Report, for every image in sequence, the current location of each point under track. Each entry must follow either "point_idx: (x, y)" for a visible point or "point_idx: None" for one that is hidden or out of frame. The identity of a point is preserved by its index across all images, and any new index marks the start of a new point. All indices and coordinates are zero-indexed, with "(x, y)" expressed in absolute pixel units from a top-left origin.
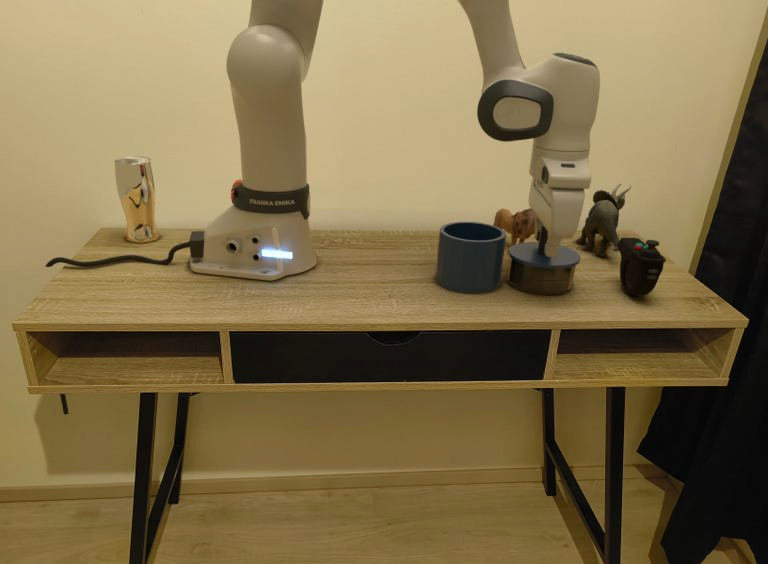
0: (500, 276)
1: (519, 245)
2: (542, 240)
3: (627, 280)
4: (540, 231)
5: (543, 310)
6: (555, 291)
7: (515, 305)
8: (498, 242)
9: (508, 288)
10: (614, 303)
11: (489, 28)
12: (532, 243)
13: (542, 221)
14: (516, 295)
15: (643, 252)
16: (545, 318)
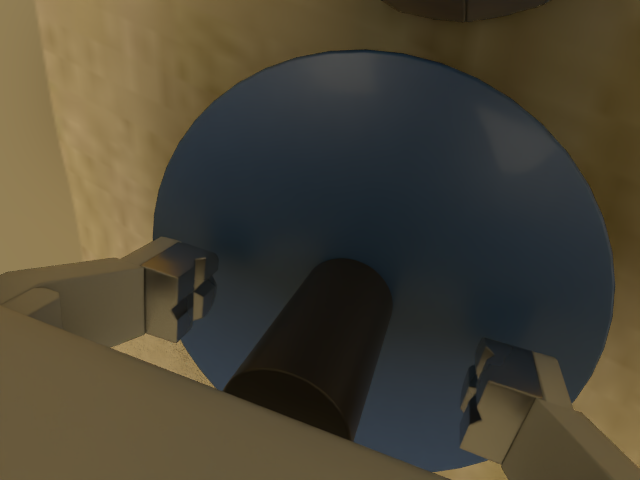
0: (387, 3)
1: (545, 207)
2: (287, 310)
3: None
4: (484, 406)
5: (127, 119)
6: None
7: (161, 13)
8: None
9: (347, 49)
10: (197, 376)
11: None
12: (565, 326)
13: (31, 346)
14: (263, 60)
15: None
16: (67, 96)
